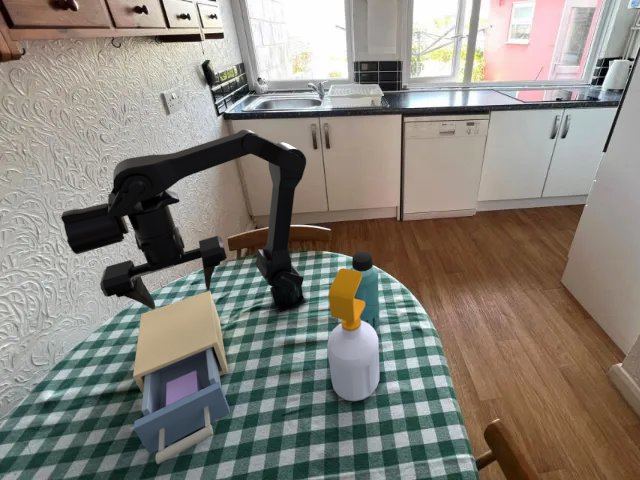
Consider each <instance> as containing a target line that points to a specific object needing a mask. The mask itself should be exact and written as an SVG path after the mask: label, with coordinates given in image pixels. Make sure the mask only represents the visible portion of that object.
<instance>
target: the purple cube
mask: <svg viewBox="0 0 640 480" xmlns="http://www.w3.org/2000/svg"><path fill="white" fill-rule="evenodd" d="M202 389H203V386H202V383H201V381H200V379H199V376H198V374H197V371H196V370H195V371H193V372H191V373H188V374H186V375H184V376H182V377H179V378H177V379H175V380H172V381H170V382H168V383H167V384H166V406H168V405H170V404H172V403H175V402H177V401H179V400H181V399H183V398H185V397H187V396H189V395H192V394H194V393H196V392H198V391H200V390H202Z"/></svg>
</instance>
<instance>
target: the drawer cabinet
mask: <svg viewBox="0 0 640 480" xmlns="http://www.w3.org/2000/svg"><path fill="white" fill-rule="evenodd" d="M222 333H223V332H222V327H221V321H220V317H219V313H218V311H217V307H216V305H215V301H214V298H213V296H212V293H211V290H206V291H205V292H202V293H199V294H196V295H192V296H189V297H186V298H184V299H181V300H179V301H175V302H173V303H169V304H167V305H166V304H165V305H164V306H161V307H158V308H155V309H151V310H149V311H146V312H142V313H141V314H140V321H139V329H138V335H137V342H136V343H137V344H136V351H135V358H134V364H133V365H134V367H133V373H132V377H133V379H134V381H135V383H136V385H137V386H138V388H139V390H140V393H141V394H142V395H143V391H144V380H145V375H146V374H149V373H151V372H154V371H156V370H158V369H161V368H163V367H166V366H168V365H170V364H173V363H175V362H177V361H180V360H182V359H185V358H187V357H189V356H192V355H194V354H197V353H199V352H201V351H204V350H206V349H209V348H211V347H213V346H214V349H215V352H216V355H217V359H218V367H219V374H220V377H221V376H223V375H225V374H228V373H229V369H228V364H227V358H226V357H227V356H226V351H225V345H224V340H223V339H224V338H223V334H222Z"/></svg>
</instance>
